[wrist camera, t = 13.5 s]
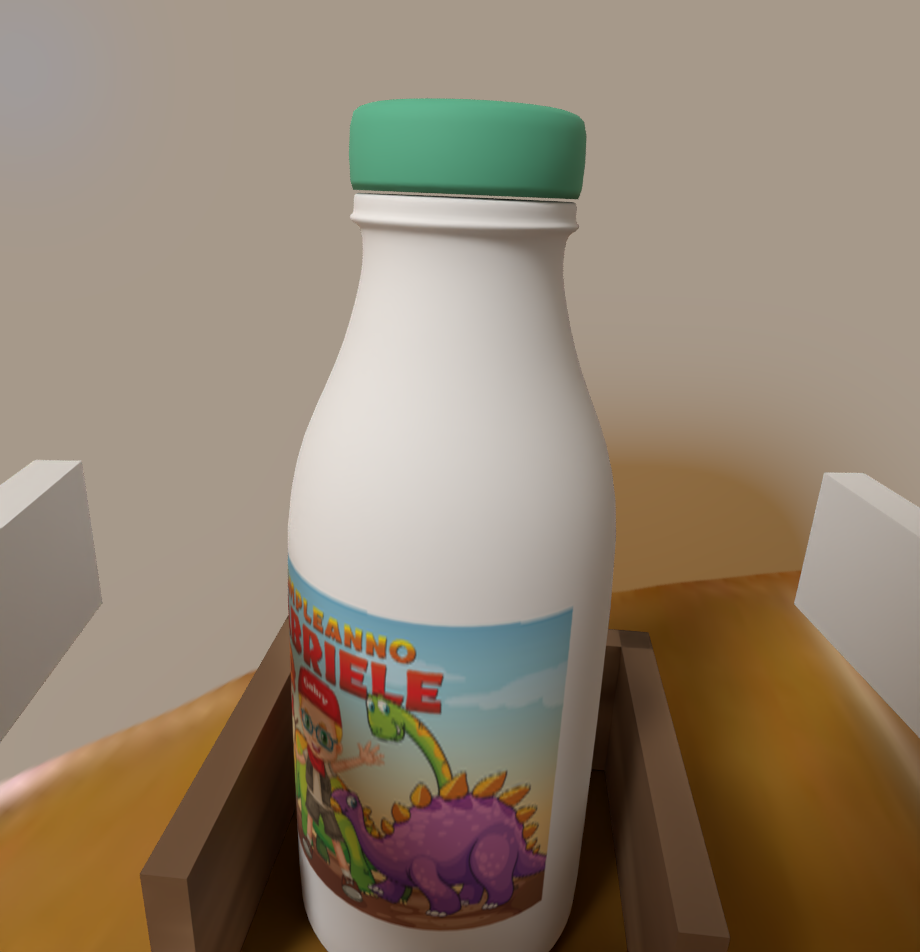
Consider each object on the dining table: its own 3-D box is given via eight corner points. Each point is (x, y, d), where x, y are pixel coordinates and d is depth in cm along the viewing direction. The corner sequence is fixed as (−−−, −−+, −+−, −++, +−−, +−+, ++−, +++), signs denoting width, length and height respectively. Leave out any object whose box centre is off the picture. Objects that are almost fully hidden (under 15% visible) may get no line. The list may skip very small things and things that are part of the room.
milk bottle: (410, 749, 27) (422, 127, 19) (615, 853, 23) (724, 124, 16) (241, 909, 20) (169, 87, 13) (483, 1088, 17) (563, 67, 10)
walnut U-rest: (630, 752, 27) (648, 632, 25) (691, 1100, 17) (730, 937, 15) (300, 722, 28) (295, 603, 26) (163, 1035, 17) (139, 873, 16)
